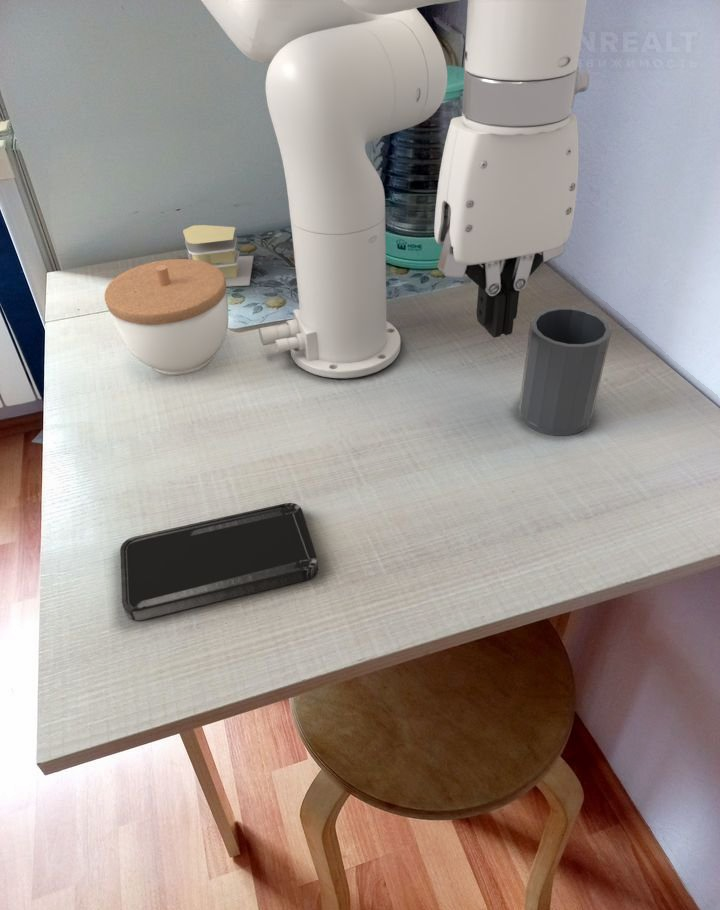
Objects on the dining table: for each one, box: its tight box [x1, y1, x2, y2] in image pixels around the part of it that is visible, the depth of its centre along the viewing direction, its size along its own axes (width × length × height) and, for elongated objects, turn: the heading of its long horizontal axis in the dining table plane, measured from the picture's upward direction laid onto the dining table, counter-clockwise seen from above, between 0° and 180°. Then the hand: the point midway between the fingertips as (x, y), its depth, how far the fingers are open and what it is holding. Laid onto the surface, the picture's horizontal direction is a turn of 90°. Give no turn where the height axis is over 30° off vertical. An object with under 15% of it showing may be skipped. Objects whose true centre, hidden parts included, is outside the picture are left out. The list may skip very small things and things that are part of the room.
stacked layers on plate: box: [182, 224, 254, 288], centre depth 95 cm, size 10×9×6 cm
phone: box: [119, 502, 319, 621], centre depth 57 cm, size 8×1×15 cm
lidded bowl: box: [104, 258, 229, 376], centre depth 77 cm, size 13×13×11 cm
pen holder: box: [518, 306, 612, 437], centre depth 67 cm, size 7×7×10 cm
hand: (495, 328), depth 61 cm, fingers closed
